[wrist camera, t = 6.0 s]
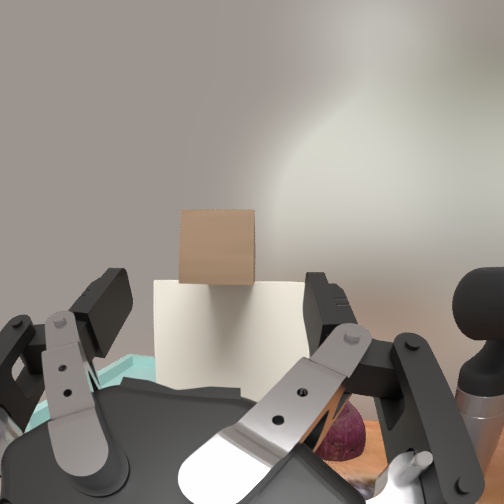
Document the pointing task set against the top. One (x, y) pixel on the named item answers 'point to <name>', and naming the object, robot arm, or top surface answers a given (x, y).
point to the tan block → (217, 247)
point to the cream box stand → (228, 334)
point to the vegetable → (344, 436)
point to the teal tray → (107, 380)
